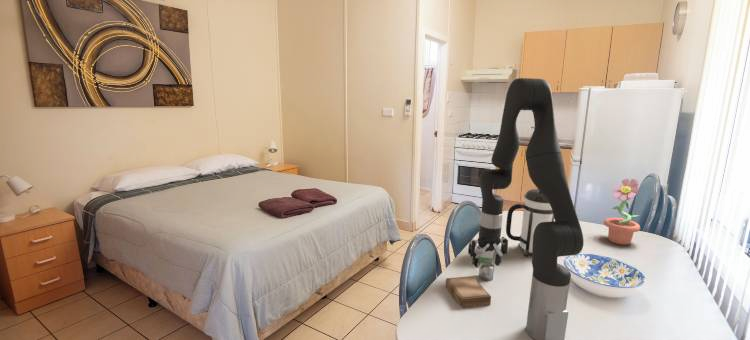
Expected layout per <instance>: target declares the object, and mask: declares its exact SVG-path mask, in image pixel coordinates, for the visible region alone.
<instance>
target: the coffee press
mask: <svg viewBox="0 0 750 340" xmlns="http://www.w3.org/2000/svg"><path fill="white" fill-rule="evenodd" d="M523 197H524V203H523V204H520V203H516V204H513V205H511V206H510V207H509V209H508V211H507V215H506V224H505V232H506V235H507V237H508V238H509V239H510V240H512V241H517V242H519V243H518V244H517V246H518V248H521V249H523V250H524V252H523V256H524V257H529V255H530V254H532V248H533V235H534V230H535V228H536V226H537V225H538V224H539V223H541V222H551V221H555V219H554V215H553V211H552V208H551V206H550V204H549V202H548V201H547V199H546V198H545V196H544V195H543V194H542V193H541V192H540V191H539V189H538V188H531V189H528V190H527V191H526V193H525V194H524V196H523ZM518 209H523V214H522V221H521V233H520V235H519V236H516V235H513V234H512V233H511V230H512V220H513V219H512V218H513V213H514V212H515V210H518Z"/></svg>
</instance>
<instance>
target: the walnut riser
mask: <svg viewBox="0 0 750 340" xmlns="http://www.w3.org/2000/svg"><path fill="white" fill-rule="evenodd" d="M445 287H446V289H447V290H448V292H449V293H450V294H451V296H452V297H453V299H454V300H455V302H456V303H457V304H458V306H459V307H460V309H461V308H463V309H464V308H473V307H481V306H482V307H483V306H491V301H492V300H491V299H492V296H491V294H490V293H489V292H488V291H487V290H486V289H485V288H484V287H483V286H482V284H480V282H478V280H477V279H476V278H475V276H461V277H460V276H459V277H449V278H445Z"/></svg>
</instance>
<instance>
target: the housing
mask: <svg viewBox="0 0 750 340" xmlns="http://www.w3.org/2000/svg"><path fill="white" fill-rule="evenodd" d="M494 273H495V265H494V264H493V263H492V264H491V263H489V262H482V263H480V262H479V269H478V278H479V279H480V280H481V281H485V282H491V281H493V280H494Z"/></svg>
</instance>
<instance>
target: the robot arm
mask: <svg viewBox="0 0 750 340" xmlns="http://www.w3.org/2000/svg"><path fill="white" fill-rule="evenodd" d="M552 92H553V91H552V88H551V86H550V84H549V82H548V81H547V80H546V79H543V78H531V77H530V78H528V77H518V78H515V79H513V80H512V82H511V83H510V85H509V87H508V89H507V92H506V96H505V100H504V107H503V111H502V112H503V113H502V116H501V124H500V130H499V134H498V138H497V141H496V144H495V147H494V150H493V152H492V156H491V160H490V161H491V164H492V165H493V166H494V167H496V168H494V169H492V168H491V169H489V168H488V169H487V168H486V169H484V170H482V171H481V173H480V175H479V177H478V182H479V187H480V192H481V199H482V200H481V211H480V216H479V223H478V224H479V225H478V237H477V239H473V238H470V239H469V242H468V249H467V254H468V255H469V256H470V257H471V258H472V260H471V261H472V262H471V264H472V265H473V266H474V267H475V268H478V267H479V256H480V255H481V254H483V252H484V251H485V252H486V251H493V250H494V251H495V252H494V251H493V252H494V253H495V257H494V264H495V265H496V266H498V267H499V266H500V265H501V263H502V257H503V255H508V246H509V240H508V239H507V237H504V236H502V234H501V232H502V225H503V208H504V198H503V197H502V196H501V195H498V194H494V193H493V191H494V190H505V189H507V188H509V186H510V185H511V183H512V181H513V168H514V167H513V165H514V162H515V160H516V157H517V154H518V153H519V149H520V137H519V133H518V130H517V119H518V116H519V115H520V112H521V111H531V112H532V114H533V115H532V116H533V122H534V129H533V132H532V135H531V137H530V139H529V141H528V144H527V147H526V150H525V160H526V161H525V162H526V166H527V172H528V175H529V178H530V179H531V182H532V183H533V184H534V186H535V187H536V189H539V191H540V192H541V193H542V194H543V195H544V196H545V198H546V199H547V201H548V202H549V204H550V206H551V208H552V211H553V215H554V221H551V222H541V223H539V224H538V225H537V226H536V228H535V230H534V235H533V248H532V253H531V265H532V275H531V276H532V277H531V285H530V291H529V298H528V308H527V309H528V311H527V316H526V327H525V330H526V333H527V335H528V336H529V337H531V338H532V339H533V340H565V338H566V332H567V325H568V316H569V311H568V310H567V305H568V297H569V291H570V285H571V284H570V283H571V277H572V274H571V271H570V270H569V268H567V267H566V266H564V265H562V264H560V263H558V258H559V257H567V256H571V257H572V256H577V255H579V254H581V253H582V250H583V247H584V234H583V231H582V226H581V224H580V221H579V218H578V215H577V212H576V207H575V205H574V202H573V198H572V196H571V192H570V188H569V184H568V180H567V174H566V168H565V162H564V159H563V155H562V151H561V146H560V143H559V138H558V132H557V126H556V121H555V120H556V119H555V111H554V103H553V102H554V100H553V94H552ZM501 236H502V237H501ZM499 245H500V248H499V247H498V246H499ZM480 248H481V250H480Z"/></svg>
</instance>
